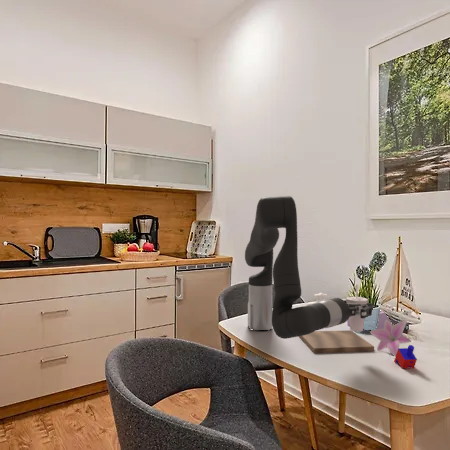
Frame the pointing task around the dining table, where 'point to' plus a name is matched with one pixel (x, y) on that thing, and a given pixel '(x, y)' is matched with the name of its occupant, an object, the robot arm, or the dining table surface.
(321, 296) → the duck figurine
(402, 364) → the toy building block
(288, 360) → the dining table surface
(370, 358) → the dining table surface
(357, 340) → the walnut board
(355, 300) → the smoothie
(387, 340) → the lily
